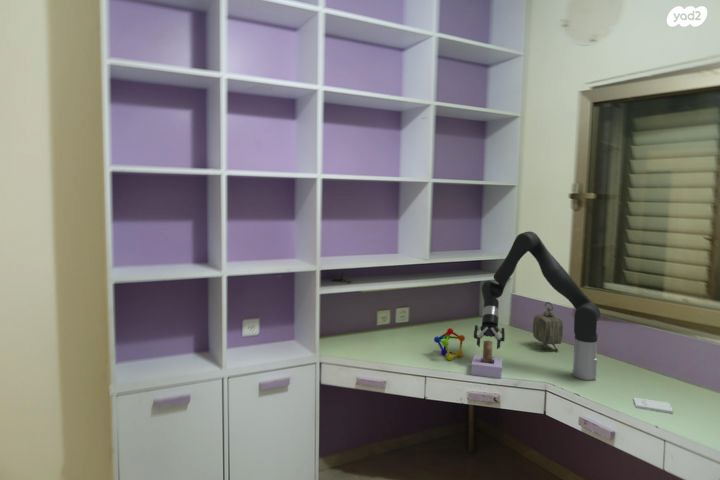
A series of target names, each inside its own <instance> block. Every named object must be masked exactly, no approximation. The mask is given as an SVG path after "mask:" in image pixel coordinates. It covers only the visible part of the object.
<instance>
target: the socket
mask: <svg viewBox="0 0 720 480" xmlns="http://www.w3.org/2000/svg"><path fill="white" fill-rule="evenodd" d="M502 370H503V357H495V356H492V364H489V363H483V355H479V354H474V355H473V359H472V362H471V370H470V371H471V374H472V376H479V377H486V378H494V379H502Z"/></svg>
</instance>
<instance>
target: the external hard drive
mask: <svg viewBox="0 0 720 480" xmlns="http://www.w3.org/2000/svg"><path fill="white" fill-rule="evenodd" d="M632 401H633V404H634V407H635V408H636V409H641V408H642V409H641V410H647V409H648V410H647V411H654V412H660V413H665V414H666V413H667V414H672V415H673V414H674V410H673V408H672V406H671V404H670V402H665V401H659V400H653V399H646V398H640V397H633V398H632Z"/></svg>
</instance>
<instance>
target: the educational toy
mask: <svg viewBox="0 0 720 480" xmlns="http://www.w3.org/2000/svg"><path fill="white" fill-rule="evenodd" d="M465 337H466V336H465V335H463V334H460V335H459V334H458V333H456V332H454V329H453V328H451V327H449V328H448V329H447V330H446V332H445V333H443V334H442V335H439V336H435V337H434V338H433V341H434V343H436V344H438V346H439V347H440V354H441V355H442V354H443V355H442V356H446V360H447V361H452V360H453V359H454V358H455V357H459V358H462V357H463V356H464V353H463V351H462V348H463V347H462V346H463V342H464V341H465V339H466V338H465ZM450 339H454V340H457V339H458V340H459V349H458V351H457V352H455V351H450V348H449V344H450V343H449V340H450ZM441 343H442V344H441Z"/></svg>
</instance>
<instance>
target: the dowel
mask: <svg viewBox="0 0 720 480" xmlns="http://www.w3.org/2000/svg"><path fill="white" fill-rule="evenodd" d="M493 343H494V342H493V341H490V340H484V341H483V343H482V344H483V348H482V349H483V350H482V352H483V353H482V356H483V363H489V364H492V357H493Z"/></svg>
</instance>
